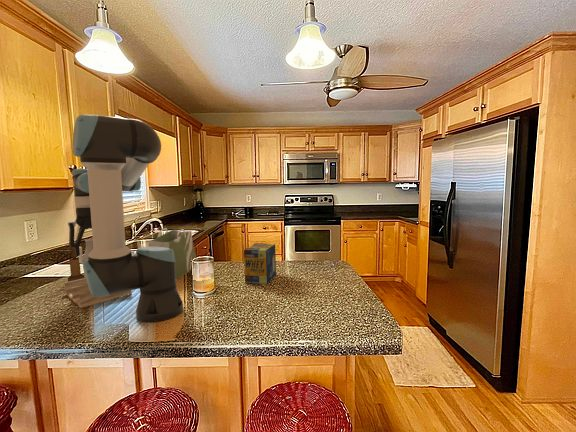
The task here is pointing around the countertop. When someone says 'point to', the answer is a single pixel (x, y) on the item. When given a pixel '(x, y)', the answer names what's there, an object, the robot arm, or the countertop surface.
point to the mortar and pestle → (74, 267)
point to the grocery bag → (177, 248)
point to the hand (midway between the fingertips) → (91, 260)
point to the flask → (88, 249)
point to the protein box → (259, 263)
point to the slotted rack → (86, 293)
